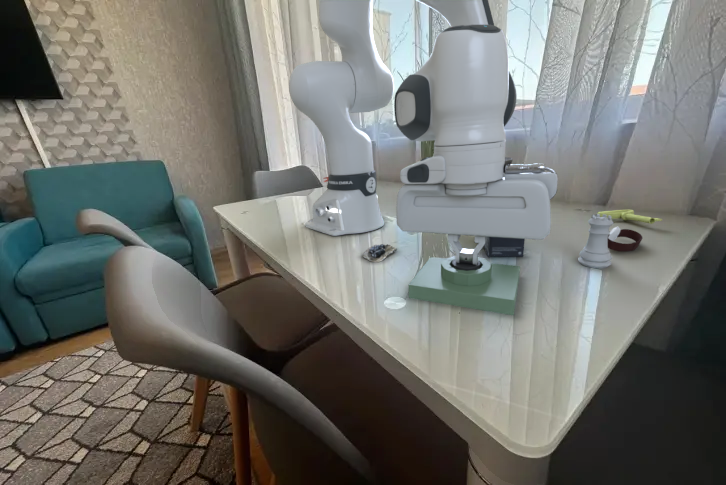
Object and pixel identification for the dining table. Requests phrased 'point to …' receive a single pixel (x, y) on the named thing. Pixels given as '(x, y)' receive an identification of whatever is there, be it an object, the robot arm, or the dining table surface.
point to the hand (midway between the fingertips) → (467, 262)
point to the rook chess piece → (597, 243)
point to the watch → (623, 233)
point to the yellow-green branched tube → (628, 216)
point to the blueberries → (378, 252)
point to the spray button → (465, 266)
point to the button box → (467, 285)
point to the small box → (504, 247)
